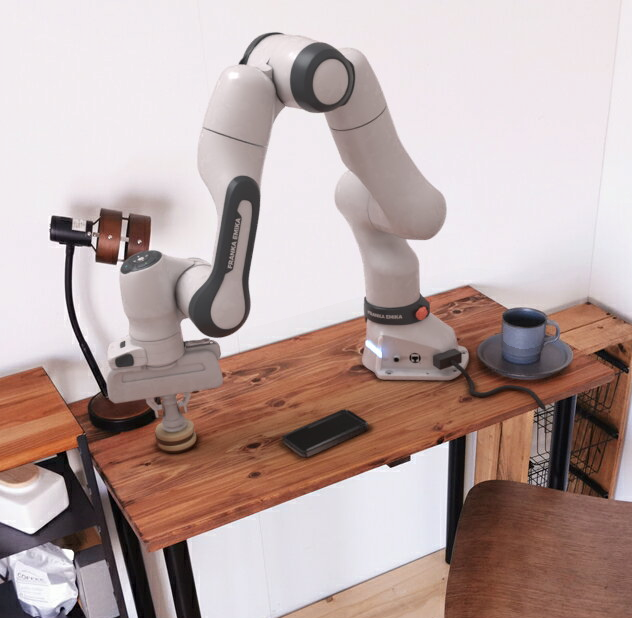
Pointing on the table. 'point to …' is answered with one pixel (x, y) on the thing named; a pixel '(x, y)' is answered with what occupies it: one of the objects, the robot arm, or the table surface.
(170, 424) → the rook chess piece
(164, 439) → the chip pile
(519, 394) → the table surface
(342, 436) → the phone
